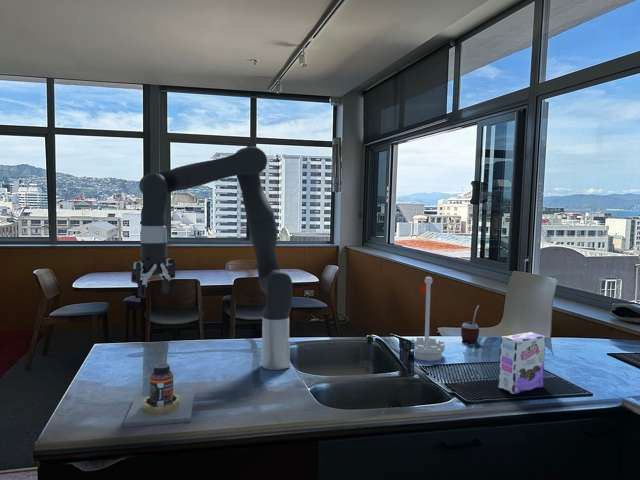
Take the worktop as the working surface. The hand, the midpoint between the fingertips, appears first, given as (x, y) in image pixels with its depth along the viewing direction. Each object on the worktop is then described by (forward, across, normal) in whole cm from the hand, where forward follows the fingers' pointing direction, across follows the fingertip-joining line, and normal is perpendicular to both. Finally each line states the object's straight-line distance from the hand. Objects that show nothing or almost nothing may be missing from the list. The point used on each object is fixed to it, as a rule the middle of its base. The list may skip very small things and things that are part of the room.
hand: (154, 294), depth 140 cm
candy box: (+28, +59, -96) cm, 116 cm away
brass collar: (+28, -11, -15) cm, 34 cm away
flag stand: (+28, +74, -61) cm, 100 cm away
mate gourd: (+28, +102, -71) cm, 127 cm away
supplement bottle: (+27, -10, -15) cm, 33 cm away
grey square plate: (+28, -11, -15) cm, 34 cm away
